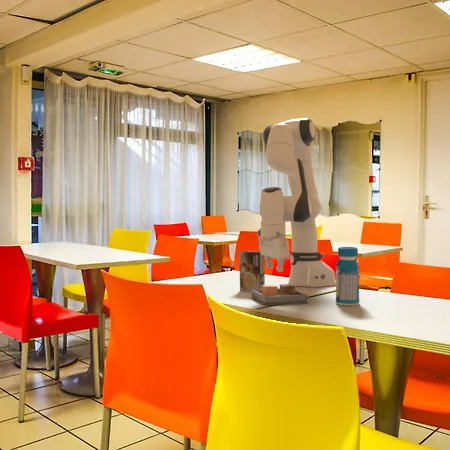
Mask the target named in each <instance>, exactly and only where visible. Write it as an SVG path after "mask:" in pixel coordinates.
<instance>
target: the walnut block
mask: <svg viewBox="0 0 450 450" xmlns="http://www.w3.org/2000/svg"><path fill="white" fill-rule="evenodd" d="M296 287H297V286H295V285H293V284H288V283H283V284H279V288H280V296H284V295H296V290H297V288H296Z"/></svg>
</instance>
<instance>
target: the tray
mask: <svg viewBox="0 0 450 450" xmlns="http://www.w3.org/2000/svg"><path fill="white" fill-rule="evenodd" d="M251 299H253V300H254V301H257V302H258V303H260V304H262V305H263V306H278V305H279V306H282V305H299V304H308V300H309V296H308V294H307V293H305V292H302V291H300V290H298V289H296V295H284V296H280V287H279V288H278V296H265V295H263V294H262V289H257V290H252V292H251Z"/></svg>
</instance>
